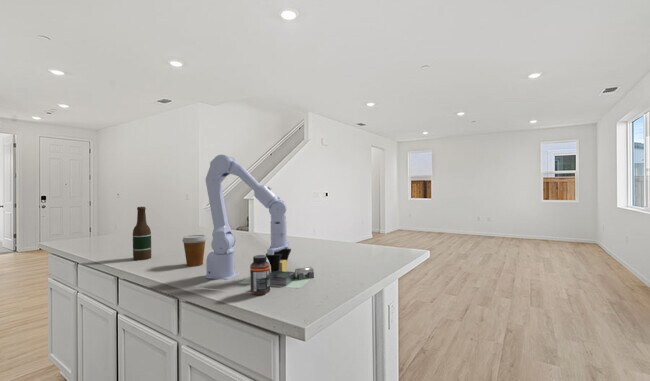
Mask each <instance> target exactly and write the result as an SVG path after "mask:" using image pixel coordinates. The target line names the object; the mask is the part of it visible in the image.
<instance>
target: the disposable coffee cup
mask: <svg viewBox="0 0 650 381" xmlns="http://www.w3.org/2000/svg"><path fill="white" fill-rule="evenodd" d="M206 241H207V237H206V235H205V234H192V235H185V236H183V238H182V243H183V247H184V248H183V249H184V254H185V255H184V256H185V260H186V266H187V267H199V266H202V265H204V259H205V258H204V256H205V249H206V248H205V247H206Z"/></svg>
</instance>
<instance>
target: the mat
mask: <svg viewBox="0 0 650 381" xmlns="http://www.w3.org/2000/svg"><path fill="white" fill-rule="evenodd" d="M270 273H271V271H270ZM315 276H316V274H314V277H315ZM310 280H312V278H310V279H309V278H307V277H306V276H304V279H303V280H298V279H295V280H294V281H292V282H291V283H290V284H289V285H287V286H279V285H270V287H278V288H279V287H280V288H291V289H292V288H293V289H300V288H302V287H303V286H305V285H306V284H307V283H308V282H309V281H310ZM238 284H243V285H251V277H250V276H249V277H247V278H245V279H243V280H241V281H239V282H238Z"/></svg>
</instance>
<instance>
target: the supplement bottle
mask: <svg viewBox="0 0 650 381" xmlns="http://www.w3.org/2000/svg"><path fill="white" fill-rule="evenodd" d="M267 260H268V259H267V257H266V254H265V255H264V254H257V255H254V256H253V258H252V263H250V266H249V268H250V270H249V273H250V274H249V275H250V276H249V277H251V284H250V293H251V294H252V295H255V296H262V295H263V296H264V295H267V294H268V293H270V292H271V286H270V272H271V266H270V263H269V261H267Z"/></svg>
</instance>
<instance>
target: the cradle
mask: <svg viewBox="0 0 650 381" xmlns="http://www.w3.org/2000/svg"><path fill="white" fill-rule="evenodd" d="M270 272H271V271H270ZM295 279H296V272H295V271H288V270H287V271H273V272H271V273H270V285H279V286H287V285H289V284H290V283H291V282H292V281H294V280H295Z"/></svg>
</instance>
